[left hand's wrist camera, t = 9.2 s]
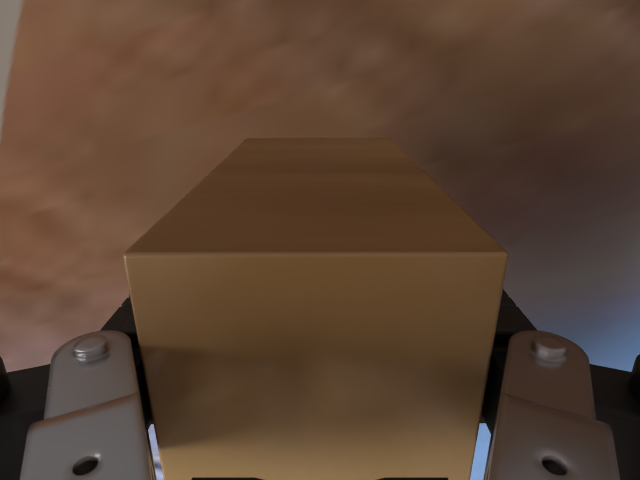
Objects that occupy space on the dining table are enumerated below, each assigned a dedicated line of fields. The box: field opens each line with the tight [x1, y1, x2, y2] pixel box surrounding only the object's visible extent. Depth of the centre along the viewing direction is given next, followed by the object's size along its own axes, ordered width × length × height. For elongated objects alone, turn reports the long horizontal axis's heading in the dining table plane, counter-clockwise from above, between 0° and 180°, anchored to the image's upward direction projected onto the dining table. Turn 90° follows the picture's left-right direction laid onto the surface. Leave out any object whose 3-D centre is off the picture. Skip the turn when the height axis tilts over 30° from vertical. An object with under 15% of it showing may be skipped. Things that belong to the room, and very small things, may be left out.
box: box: [123, 138, 508, 480], centre depth 16 cm, size 20×6×12 cm, turn 0°
